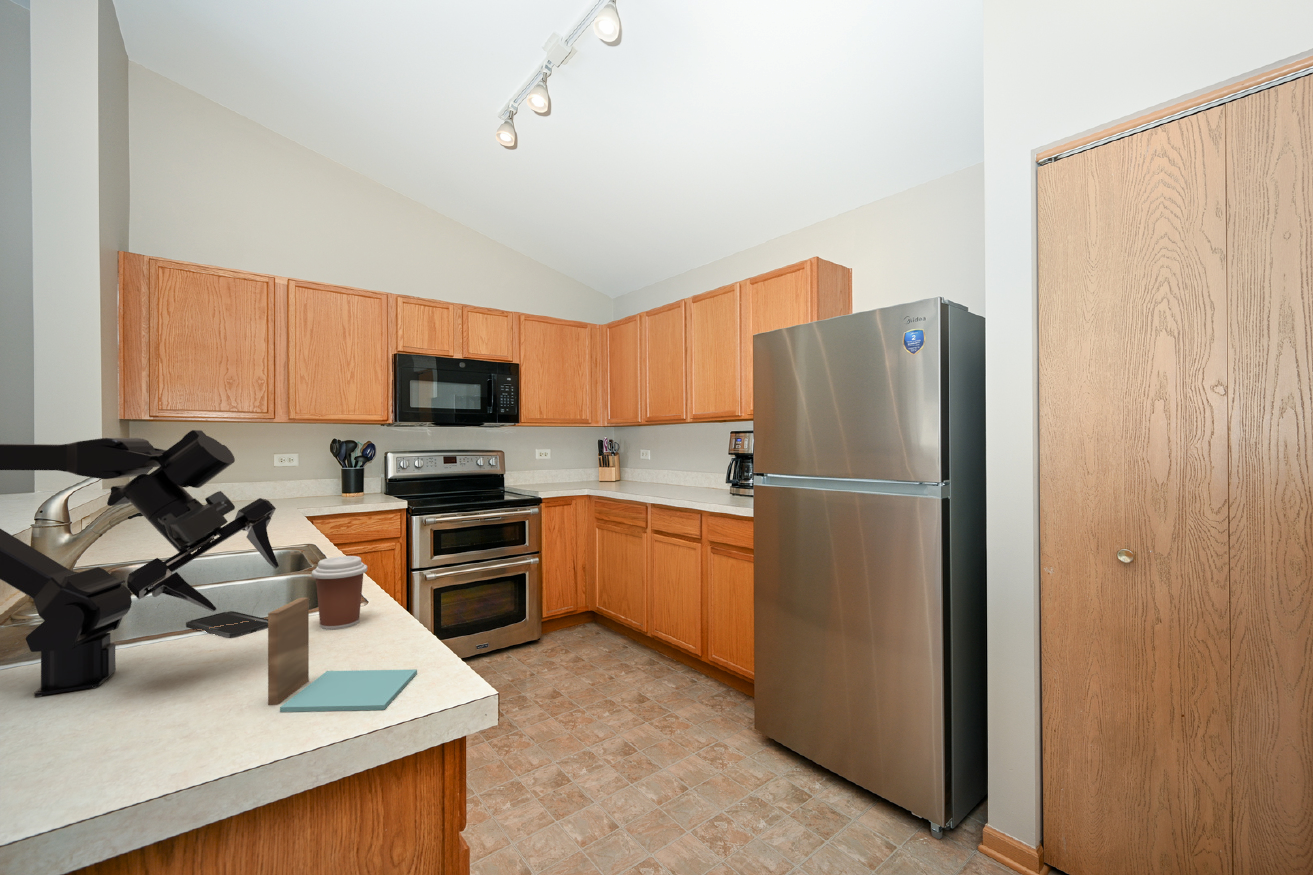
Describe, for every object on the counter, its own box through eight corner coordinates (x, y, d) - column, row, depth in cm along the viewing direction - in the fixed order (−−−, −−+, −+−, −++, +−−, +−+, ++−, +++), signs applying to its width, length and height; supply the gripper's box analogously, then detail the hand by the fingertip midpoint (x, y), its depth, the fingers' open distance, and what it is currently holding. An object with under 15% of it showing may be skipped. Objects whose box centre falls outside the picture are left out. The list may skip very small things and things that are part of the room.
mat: (279, 711, 71) (279, 707, 71) (327, 674, 82) (327, 670, 82) (384, 709, 72) (384, 705, 72) (417, 673, 83) (417, 669, 83)
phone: (230, 610, 110) (277, 621, 104) (230, 616, 110) (277, 627, 104) (182, 622, 103) (229, 634, 96) (182, 628, 103) (229, 641, 96)
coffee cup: (358, 630, 101) (358, 563, 101) (302, 633, 99) (302, 566, 99) (373, 614, 110) (373, 553, 110) (322, 617, 108) (322, 555, 108)
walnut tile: (268, 705, 73) (268, 613, 73) (300, 681, 80) (299, 597, 80) (277, 704, 73) (277, 613, 73) (308, 681, 80) (308, 597, 80)
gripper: (90, 532, 69) (182, 624, 71) (242, 454, 83) (316, 533, 85) (94, 555, 76) (177, 638, 78) (233, 480, 90) (301, 553, 92)
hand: (247, 587), depth 83 cm, fingers open, 9 cm apart
